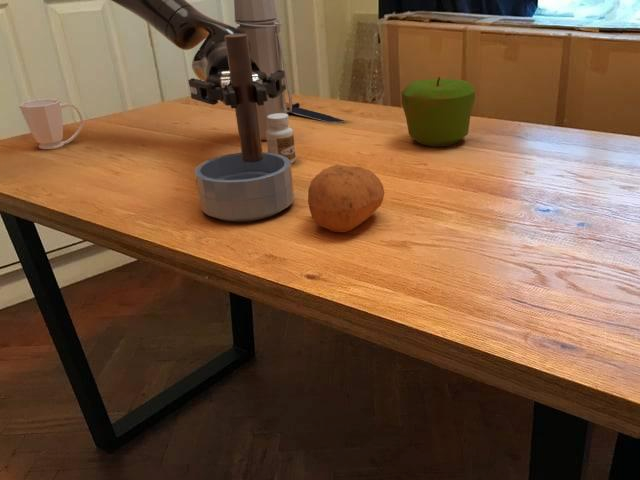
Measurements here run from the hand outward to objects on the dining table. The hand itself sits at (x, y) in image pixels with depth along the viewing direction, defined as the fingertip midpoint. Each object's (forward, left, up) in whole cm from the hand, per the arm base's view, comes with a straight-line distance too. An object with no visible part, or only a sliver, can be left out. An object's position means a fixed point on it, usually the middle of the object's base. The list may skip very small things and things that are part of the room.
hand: (247, 98), depth 83 cm
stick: (0, +3, -9) cm, 9 cm away
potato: (+10, -8, -16) cm, 20 cm away
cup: (-28, +51, -16) cm, 60 cm away
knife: (+18, +51, -16) cm, 56 cm away
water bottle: (+10, +37, -16) cm, 41 cm away
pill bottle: (+8, +21, -16) cm, 27 cm away
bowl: (-1, +3, -15) cm, 16 cm away
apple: (+36, +20, -16) cm, 44 cm away
